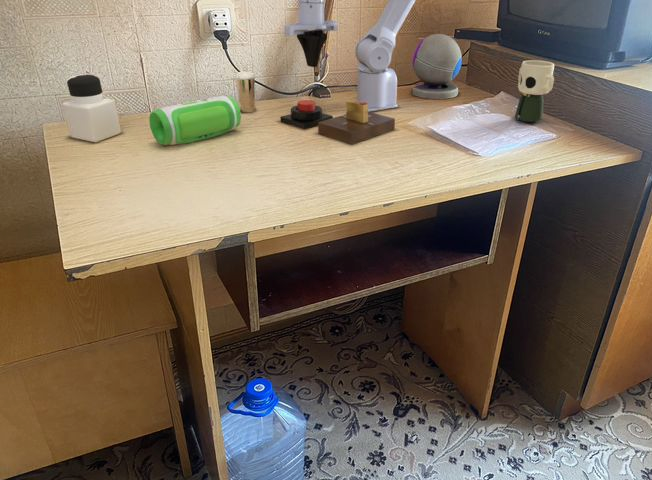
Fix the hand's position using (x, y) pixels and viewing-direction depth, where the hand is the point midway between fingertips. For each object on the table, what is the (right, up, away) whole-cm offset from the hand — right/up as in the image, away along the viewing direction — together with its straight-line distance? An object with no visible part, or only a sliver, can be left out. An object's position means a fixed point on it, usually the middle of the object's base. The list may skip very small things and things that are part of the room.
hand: (312, 66), depth 128 cm
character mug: (+51, -12, +2) cm, 53 cm away
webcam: (+32, +1, +22) cm, 39 cm away
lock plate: (+10, -17, -8) cm, 22 cm away
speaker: (-23, -20, -13) cm, 33 cm away
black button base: (-1, -14, -2) cm, 14 cm away
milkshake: (-16, -9, +5) cm, 19 cm away
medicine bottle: (-44, -20, -13) cm, 50 cm away
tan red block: (+11, -15, -9) cm, 21 cm away
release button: (-1, -11, -4) cm, 12 cm away
